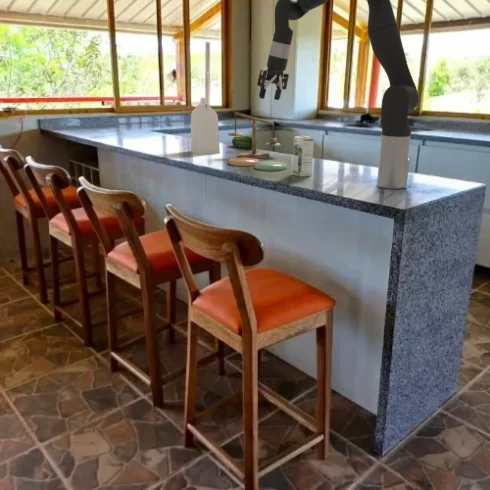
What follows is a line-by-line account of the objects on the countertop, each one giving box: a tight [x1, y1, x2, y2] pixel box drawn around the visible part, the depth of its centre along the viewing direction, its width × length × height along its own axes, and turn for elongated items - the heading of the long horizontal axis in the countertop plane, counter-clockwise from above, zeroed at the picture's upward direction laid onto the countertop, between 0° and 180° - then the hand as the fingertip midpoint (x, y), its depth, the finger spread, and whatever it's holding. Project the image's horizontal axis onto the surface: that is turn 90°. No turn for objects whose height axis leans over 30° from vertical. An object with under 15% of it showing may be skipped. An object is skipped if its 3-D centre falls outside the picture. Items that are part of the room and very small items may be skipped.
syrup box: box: [292, 135, 315, 177], centre depth 180 cm, size 6×6×14 cm
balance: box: [227, 111, 281, 159], centre depth 220 cm, size 24×7×20 cm, turn 91°
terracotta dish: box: [228, 157, 260, 167], centre depth 205 cm, size 13×13×2 cm
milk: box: [190, 97, 221, 155], centre depth 233 cm, size 12×12×26 cm
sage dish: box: [254, 161, 288, 172], centre depth 196 cm, size 13×13×2 cm
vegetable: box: [231, 134, 258, 150], centre depth 254 cm, size 7×7×20 cm
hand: (269, 99), depth 188 cm, fingers open, 8 cm apart
